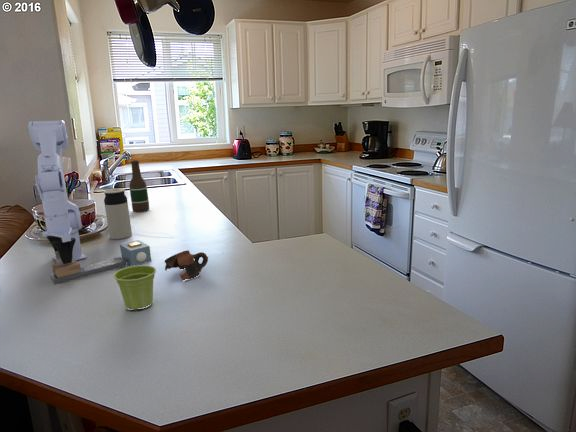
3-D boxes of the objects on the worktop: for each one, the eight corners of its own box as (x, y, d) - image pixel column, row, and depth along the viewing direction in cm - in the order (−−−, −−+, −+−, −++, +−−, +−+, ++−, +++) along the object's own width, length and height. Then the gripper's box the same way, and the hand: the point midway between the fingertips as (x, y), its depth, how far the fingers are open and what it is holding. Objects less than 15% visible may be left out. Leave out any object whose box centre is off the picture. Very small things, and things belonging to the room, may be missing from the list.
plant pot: (145, 294, 108) (141, 262, 106) (167, 303, 102) (163, 270, 100) (111, 308, 101) (105, 274, 99) (132, 319, 95) (127, 283, 93)
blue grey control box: (122, 259, 135) (119, 244, 134) (140, 254, 139) (138, 240, 138) (132, 266, 128) (130, 250, 127) (151, 261, 132) (149, 246, 131)
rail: (50, 279, 121) (49, 274, 120) (121, 261, 133) (120, 256, 133) (54, 284, 117) (53, 279, 116) (126, 265, 129) (126, 260, 129)
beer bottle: (131, 209, 205) (125, 160, 199) (148, 207, 208) (142, 159, 202) (133, 213, 198) (126, 162, 192) (150, 210, 201) (144, 160, 195)
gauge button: (129, 254, 133) (127, 243, 132) (138, 252, 135) (137, 241, 134) (132, 256, 131) (131, 245, 130) (142, 254, 133) (140, 243, 132)
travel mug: (117, 241, 155) (110, 192, 151) (105, 237, 160) (98, 191, 155) (136, 235, 161) (130, 189, 157) (124, 232, 166) (118, 187, 161)
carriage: (52, 272, 121) (48, 250, 119) (75, 266, 125) (71, 245, 123) (58, 277, 117) (53, 255, 115) (81, 271, 120) (77, 250, 119)
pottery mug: (173, 287, 113) (160, 259, 114) (173, 289, 122) (162, 263, 123) (214, 268, 117) (202, 241, 117) (212, 272, 125) (200, 247, 126)
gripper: (34, 213, 119) (43, 258, 123) (46, 221, 109) (55, 271, 112) (62, 208, 124) (69, 252, 127) (75, 216, 113) (83, 264, 116)
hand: (64, 260), depth 120 cm, fingers open, 5 cm apart
